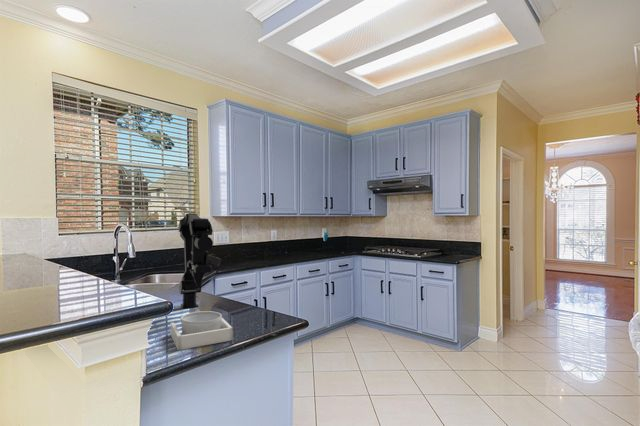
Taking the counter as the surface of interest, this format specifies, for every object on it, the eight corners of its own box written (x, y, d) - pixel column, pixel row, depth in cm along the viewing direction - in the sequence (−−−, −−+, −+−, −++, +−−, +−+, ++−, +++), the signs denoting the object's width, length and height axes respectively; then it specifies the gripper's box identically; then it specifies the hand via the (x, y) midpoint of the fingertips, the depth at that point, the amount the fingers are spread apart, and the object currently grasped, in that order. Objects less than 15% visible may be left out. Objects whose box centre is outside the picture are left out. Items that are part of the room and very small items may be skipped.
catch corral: (170, 334, 114) (170, 322, 114) (220, 326, 123) (220, 315, 123) (177, 350, 101) (178, 337, 101) (232, 340, 110) (233, 328, 110)
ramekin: (215, 327, 122) (215, 308, 122) (226, 339, 111) (226, 318, 111) (176, 334, 115) (177, 313, 115) (184, 346, 104) (185, 324, 104)
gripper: (225, 250, 132) (224, 289, 131) (213, 246, 148) (213, 281, 147) (196, 251, 126) (195, 292, 125) (187, 247, 142) (186, 283, 141)
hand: (198, 287), depth 135 cm, fingers closed
